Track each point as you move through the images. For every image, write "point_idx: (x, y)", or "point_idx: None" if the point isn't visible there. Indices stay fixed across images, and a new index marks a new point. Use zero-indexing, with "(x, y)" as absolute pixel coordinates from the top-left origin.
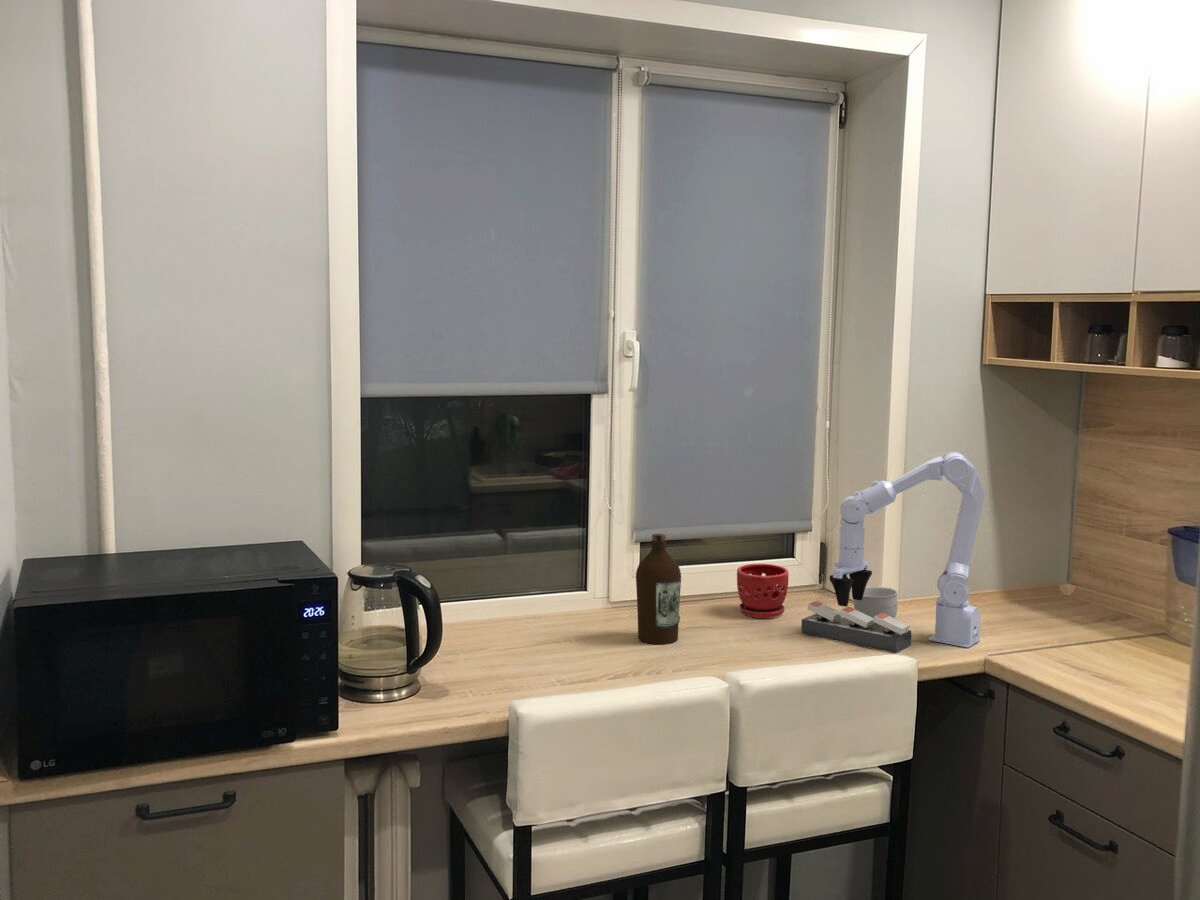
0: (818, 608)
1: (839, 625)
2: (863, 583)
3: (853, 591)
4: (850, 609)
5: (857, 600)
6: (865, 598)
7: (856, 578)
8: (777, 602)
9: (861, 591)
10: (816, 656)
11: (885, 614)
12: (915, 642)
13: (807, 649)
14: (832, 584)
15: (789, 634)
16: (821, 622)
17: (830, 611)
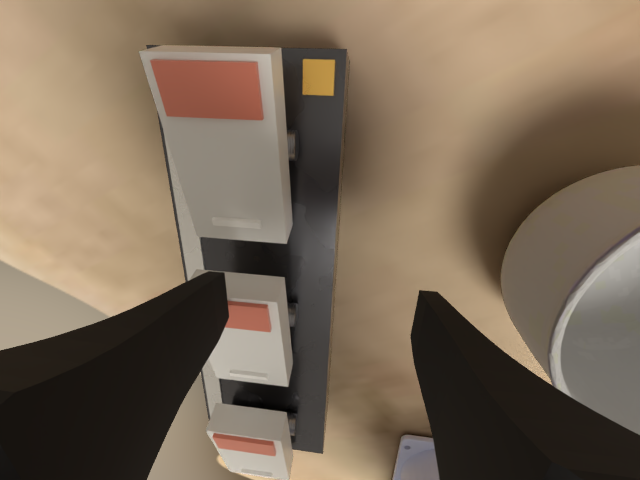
0: (167, 141)
1: (194, 260)
2: (442, 467)
3: (432, 327)
4: (238, 322)
5: (581, 241)
6: (554, 312)
7: (472, 460)
8: None
9: (425, 387)
10: (26, 242)
11: (268, 451)
12: (365, 411)
13: (51, 188)
14: (31, 346)
15: (138, 12)
16: (172, 174)
17: (223, 204)
